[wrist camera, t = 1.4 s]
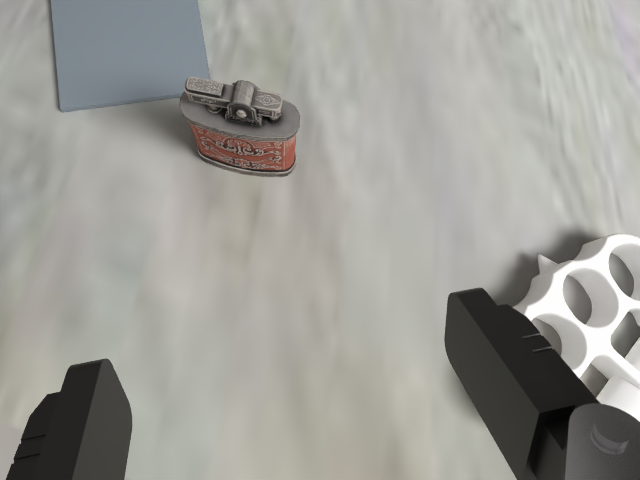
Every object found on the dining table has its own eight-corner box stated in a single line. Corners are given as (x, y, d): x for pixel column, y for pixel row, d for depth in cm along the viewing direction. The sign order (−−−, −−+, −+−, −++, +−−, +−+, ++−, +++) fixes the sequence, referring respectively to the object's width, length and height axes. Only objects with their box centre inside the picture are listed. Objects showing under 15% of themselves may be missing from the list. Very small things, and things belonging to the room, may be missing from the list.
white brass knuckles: (584, 505, 36) (436, 366, 37) (706, 326, 40) (567, 207, 41) (615, 521, 32) (451, 368, 34) (744, 323, 36) (592, 194, 38)
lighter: (299, 145, 40) (306, 79, 30) (292, 183, 39) (296, 128, 29) (203, 127, 40) (178, 53, 30) (193, 164, 39) (165, 101, 29)
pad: (192, -28, 43) (191, -33, 42) (212, 92, 40) (211, 89, 40) (51, -14, 41) (49, -19, 41) (62, 112, 39) (60, 109, 38)
